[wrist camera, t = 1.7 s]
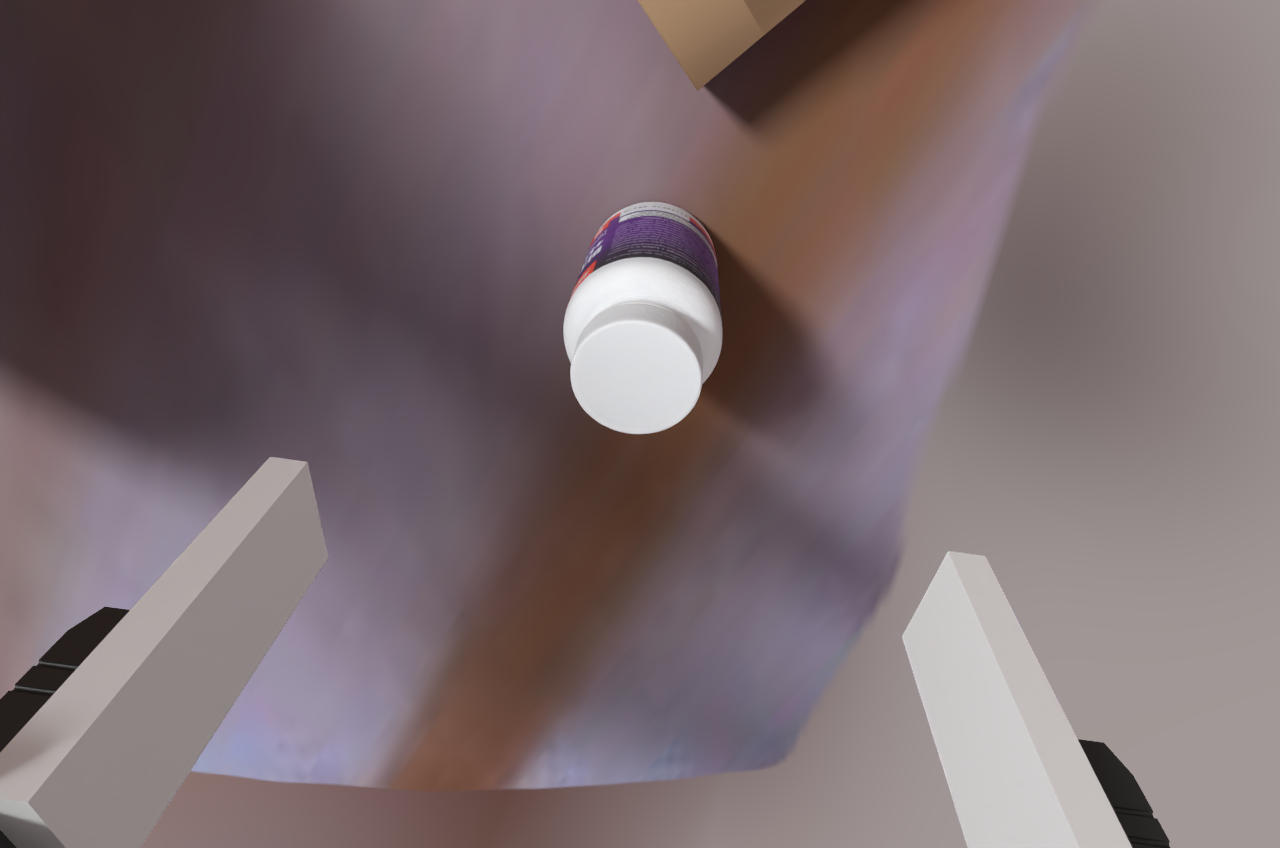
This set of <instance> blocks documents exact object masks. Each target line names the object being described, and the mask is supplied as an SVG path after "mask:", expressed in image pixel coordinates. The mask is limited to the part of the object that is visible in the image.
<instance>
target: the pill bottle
mask: <svg viewBox="0 0 1280 848" xmlns="http://www.w3.org/2000/svg"><path fill="white" fill-rule="evenodd" d="M563 336H564V343H565V348H566V352H567V355H568V358H569V360H570V362H571V368H570V377H571V384H572V389H573V392H574V394H575V397H576V399H577V400H578V402H579V404H580V405H581V407H582V408H583V409H584V410H585V411H586V413H588V414H589V415H590V416H591V417H592V418H593V419H594V420H596V421H597V422H599V423H600V424H602V425H604V426H606V427H608V428H610V429H613V430H616V431H619V432H623V433H629V434H649V433H655V432H659V431H662V430H665V429H667V428H670V427H672V426H673V425H675V424H677V423H678V422H680V421H681V420H682V419H683V418H685V417H686V416H687V414H688V413H689V412H690V411H691V410H692V408H693V407H694V406H695V404H696V402H697V400H698V398H699V395H700V392H701V388H702V384H703V383H704V382H705V381H706V380H707V378H708V377H709V376H710V374H711V373H712V371H713V369H714V368H715V366H716V364H717V361H718V359H719V355H720V352H721V347H722V314H721V302H720V291H719V278H718V264H717V257H716V253H715V249H714V246H713V243H712V240H711V238H710V236H709V234H708V233H707V231H706V230H705V228H704V227H703V226H702V224H701V223H700V222H699V221H698V220H697V219H696V218H695V217H693V216H692V215H691V214H689V213H688V212H686V211H685V210H683V209H681V208H679V207H676V206H673V205H670V204H667V203H661V202H644V203H638V204H634V205H631V206H628V207H626V208H624V209H622V210H620V211H618V212H617V213H615V214H614V215H612V216H611V217H610V218H609V219H608V220H607V221H606V222H605V223H604V224H603V225H602V226H601V228H600V229H599V230H598V232H597V234H596V235H595V237H594V239H593V241H592V243H591V245H590V248H589V251H588V253H587V256H586V258H585V261H584V264H583V266H582V269H581V272H580V275H579V277H578V279H577V282H576V285H575V288H574V290H573V293H572V295H571V298H570V301H569V303H568V306H567V309H566V313H565V317H564V325H563Z"/></svg>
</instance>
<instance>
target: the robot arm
mask: <svg viewBox="0 0 1280 848" xmlns="http://www.w3.org/2000/svg"><path fill="white" fill-rule="evenodd" d="M327 559H328V554H327V549H326V544H325V540H324V535H323V531H322V526H321V521H320V517H319V512H318V508H317V503H316V498H315V494H314V489H313V485H312V480H311V475H310V471H309V466H308V462H305V461H297V460H290V459H283V458H276V457H269V458H268V459H267V461H266V462H265V463H264V464H263V465H262V466H261V467H260V468H259V469H258V470H257V472H256V473H255V474H254V475H253V476H252V477H251V478H250V479H249V480H248V481H247V482H246V484H245V485H244V486H243V487H242V488H241V489H240V490H239V491H238V492H237V493H236V495H235V496H234V497H233V498H232V499H231V500H230V501H229V502H228V503H227V504H226V506H225V507H224V508H223V509H222V510H221V511H220V512H219V513H218V514H217V515H216V516H215V518H214V519H213V520H212V521H211V522H210V523H209V524H208V525H207V526H206V527H205V529H204V530H203V531H202V532H201V533H200V534H199V535H198V536H197V537H196V538H195V540H194V541H193V542H192V543H191V544H190V545H189V546H188V547H187V548H186V549H185V550H184V552H183V553H182V554H181V555H180V556H179V557H178V558H177V559H176V560H175V561H174V563H173V564H172V565H171V566H170V567H169V568H168V569H167V570H166V571H165V572H164V574H163V575H162V576H161V577H160V578H159V579H158V580H157V581H156V582H155V583H154V584H153V586H152V587H151V588H150V589H149V590H148V591H147V592H146V593H145V594H144V595H143V597H142V598H141V599H140V600H139V601H138V602H137V603H136V604H135V605H134V606H133V608H132V609H131V610H125V609H118V608H111V607H104V608H102V609H101V610H99V611H98V612H96V613H95V614H93V615H91V616H90V617H88V618H87V619H85V620H84V621H82V622H81V623H79V624H77V625H76V626H74V627H73V628H71V629H70V630H68V631H67V632H66V633H65V634H64V635H63V636H62V637H61V638H60V639H59V640H58V641H57V642H56V643H55V644H54V645H53V646H52V647H51V648H50V649H49V650H48V651H47V652H46V653H45V654H44V655H43V656H42V658H41V659H40V660H39V664H38V665H37V666H33V667H32V668H31V669H30V670H29V671H28V672H27V673H26V674H25V675H24V676H23V677H22V678H21V679H20V680H19V681H18V682H17V683H16V684H15V688H14V690H12V691H8V692H7V693H6V694H5V695H4V696H3V697H2V698H1V699H0V848H140V847H141V846H142V844H143V843H144V841H145V840H146V838H147V836H148V835H149V834H150V832H151V831H152V829H153V827H154V826H155V824H156V823H157V821H158V820H159V818H160V817H161V815H162V814H163V812H164V811H165V809H166V807H167V806H168V804H169V803H170V801H171V800H172V798H173V797H174V795H175V794H176V792H177V790H178V789H179V787H180V786H181V784H182V783H183V781H184V780H185V778H186V777H187V775H188V773H189V772H190V770H191V769H192V767H193V766H194V764H195V763H196V761H197V760H198V758H199V757H200V755H201V753H202V752H203V750H204V749H205V747H206V746H207V744H208V743H209V741H210V740H211V738H212V736H213V735H214V733H215V732H216V730H217V729H218V727H219V726H220V724H221V723H222V721H223V719H224V718H225V716H226V715H227V713H228V712H229V710H230V709H231V707H232V706H233V704H234V703H235V701H236V699H237V698H238V696H239V695H240V693H241V692H242V690H243V689H244V687H245V686H246V684H247V682H248V681H249V679H250V678H251V676H252V675H253V673H254V672H255V670H256V669H257V667H258V665H259V664H260V662H261V661H262V659H263V658H264V656H265V655H266V653H267V652H268V650H269V649H270V647H271V645H272V644H273V642H274V641H275V639H276V638H277V636H278V635H279V633H280V632H281V630H282V628H283V627H284V625H285V624H286V622H287V621H288V619H289V618H290V616H291V615H292V613H293V611H294V610H295V608H296V607H297V605H298V604H299V602H300V601H301V599H302V598H303V596H304V595H305V593H306V591H307V590H308V588H309V587H310V585H311V584H312V582H313V581H314V579H315V578H316V576H317V574H318V573H319V571H320V570H321V568H322V567H323V565H324V564H325V562H326V561H327ZM902 640H903V643H904V646H905V649H906V653H907V656H908V659H909V662H910V665H911V668H912V672H913V675H914V678H915V681H916V684H917V687H918V691H919V694H920V697H921V700H922V704H923V707H924V710H925V713H926V716H927V719H928V722H929V726H930V729H931V732H932V736H933V739H934V742H935V745H936V748H937V751H938V755H939V758H940V761H941V764H942V767H943V771H944V774H945V777H946V780H947V784H948V787H949V790H950V793H951V796H952V799H953V803H954V806H955V809H956V812H957V815H958V819H959V822H960V825H961V828H962V832H963V835H964V838H965V841H966V844H967V848H1170V847H1169V840H1168V838H1167V836H1166V834H1165V833H1164V831H1163V829H1162V827H1161V825H1160V823H1159V821H1158V820H1157V819H1155V818H1154V817H1153V815H1152V813H1153V811H1152V809H1151V807H1150V805H1149V803H1148V801H1147V800H1146V798H1145V796H1144V794H1143V792H1142V791H1141V789H1140V787H1139V785H1138V783H1137V782H1136V780H1135V778H1134V776H1133V775H1132V774H1131V773H1130V772H1129V770H1128V769H1127V768H1126V767H1125V766H1124V765H1123V764H1122V763H1121V761H1120V760H1119V759H1118V758H1117V757H1116V756H1115V755H1114V754H1113V752H1112V751H1111V750H1110V749H1109V748H1108V747H1107V746H1106V745H1105V744H1104V743H1100V742H1093V741H1086V740H1078V739H1077V737H1076V735H1075V733H1074V731H1073V729H1072V727H1071V725H1070V723H1069V721H1068V719H1067V717H1066V715H1065V713H1064V711H1063V709H1062V707H1061V705H1060V703H1059V701H1058V700H1057V697H1056V695H1055V693H1054V691H1053V689H1052V687H1051V685H1050V683H1049V682H1048V679H1047V677H1046V675H1045V673H1044V671H1043V670H1042V667H1041V666H1040V663H1039V661H1038V660H1037V658H1036V656H1035V654H1034V652H1033V650H1032V648H1031V646H1030V644H1029V642H1028V640H1027V638H1026V636H1025V634H1024V632H1023V630H1022V628H1021V626H1020V624H1019V622H1018V620H1017V618H1016V616H1015V614H1014V612H1013V610H1012V608H1011V606H1010V604H1009V602H1008V600H1007V598H1006V596H1005V594H1004V592H1003V590H1002V589H1001V586H1000V584H999V582H998V580H997V578H996V576H995V574H994V572H993V570H992V569H991V566H990V564H989V563H988V560H987V558H986V556H981V555H974V554H967V553H959V552H953V551H948V552H947V554H946V556H945V558H944V560H943V561H942V563H941V565H940V567H939V569H938V571H937V572H936V574H935V576H934V578H933V580H932V582H931V583H930V585H929V587H928V589H927V591H926V593H925V595H924V596H923V598H922V600H921V602H920V604H919V606H918V608H917V610H916V611H915V613H914V615H913V617H912V619H911V621H910V623H909V624H908V626H907V628H906V630H905V632H904V634H903V635H902Z"/></svg>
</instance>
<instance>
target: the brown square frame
mask: <svg viewBox="0 0 1280 848" xmlns="http://www.w3.org/2000/svg"><path fill="white" fill-rule="evenodd" d="M804 1H806V0H638V2H639V3H640V5H641V6H642V8H643V9H644V11H645V12H646V14H647V15H648V17H649V18H650V20H651V21H652V23H653V24H654V26H655V27H656V29H657V30H658V32H659V33H660V35H661V36H662V38H663V39H664V41H665V43H666V44H667V46H668V47H669V49H670V50H671V52H672V53H673V55H674V56H675V58H676V59H677V61H678V62H679V64H680V65H681V67H682V68H683V70H684V71H685V73H686V74H687V76H688V77H689V79H690V80H691V82H692V83H693V85H694V86H695V88H696V89H697V91H698V90H699V89H700V88H702V87H703V86H704V85H705V84H706V83H708V82H709V81H710V80H711V79H712V78H714V77H715V76H716V75H717V74H718V73H720V72H721V71H722V70H723V69H724V68H726V67H727V66H728V65H729V64H730V63H731V62H733V61H734V60H735V59H736V58H737V57H739V56H740V55H741V54H742V53H743V52H745V51H746V50H747V49H748V48H749V47H751V46H752V45H753V44H754V43H755V42H757V41H758V40H759V39H760V38H761V37H763V36H764V35H765V34H766V33H767V32H769V31H770V30H771V29H772V28H773V27H774V26H776V25H777V24H778V23H779V22H780V21H782V20H783V19H784V18H785V17H786V16H788V15H789V14H790V13H791V12H792V11H794V10H795V9H796V8H797V7H798V6H800V5H801V4H802V3H803V2H804Z"/></svg>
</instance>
